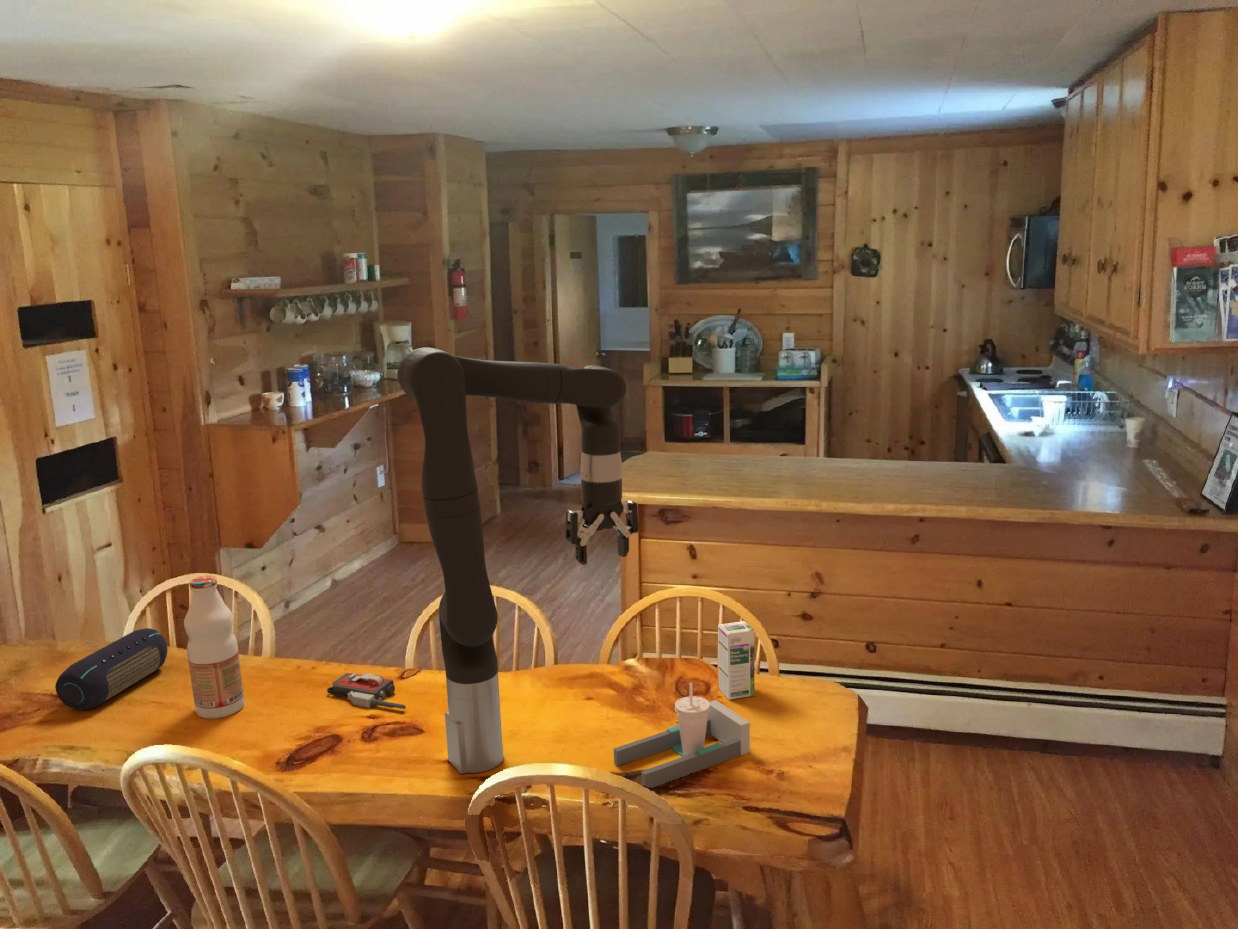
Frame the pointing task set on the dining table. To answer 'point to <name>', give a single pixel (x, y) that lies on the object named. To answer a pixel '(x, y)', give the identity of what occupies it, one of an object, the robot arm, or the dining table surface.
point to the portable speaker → (111, 669)
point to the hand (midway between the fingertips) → (602, 559)
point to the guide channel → (719, 725)
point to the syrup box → (736, 659)
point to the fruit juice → (212, 652)
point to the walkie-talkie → (364, 690)
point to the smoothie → (692, 721)
